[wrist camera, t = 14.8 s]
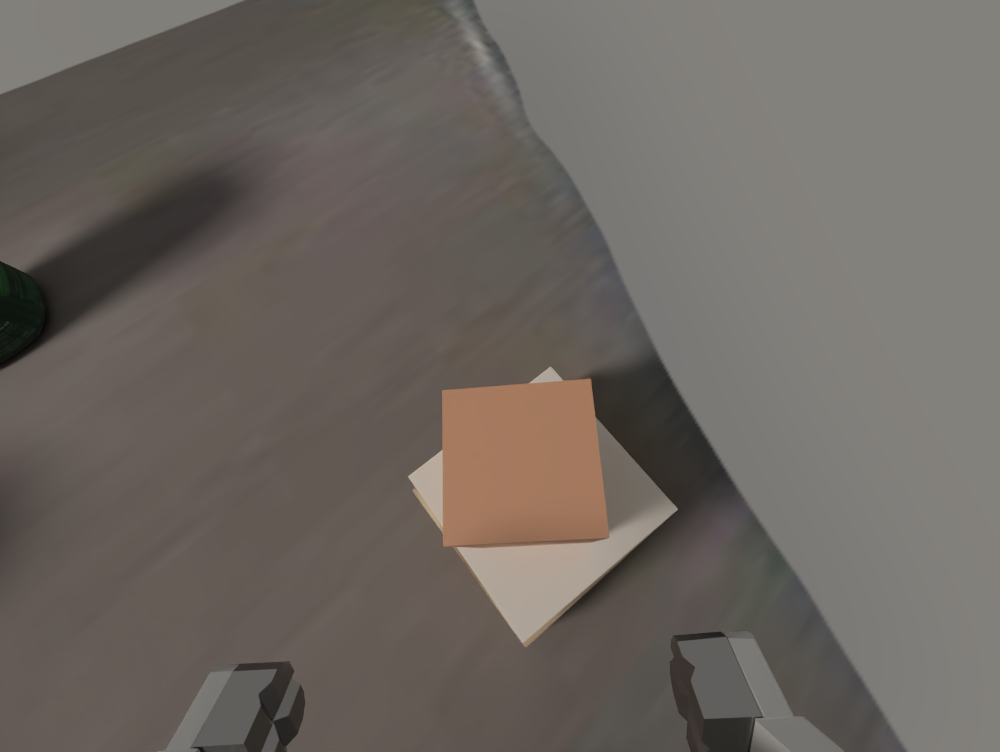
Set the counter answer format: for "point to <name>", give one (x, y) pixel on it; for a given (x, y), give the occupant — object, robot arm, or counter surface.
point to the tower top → (560, 567)
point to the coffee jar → (19, 310)
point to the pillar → (522, 466)
